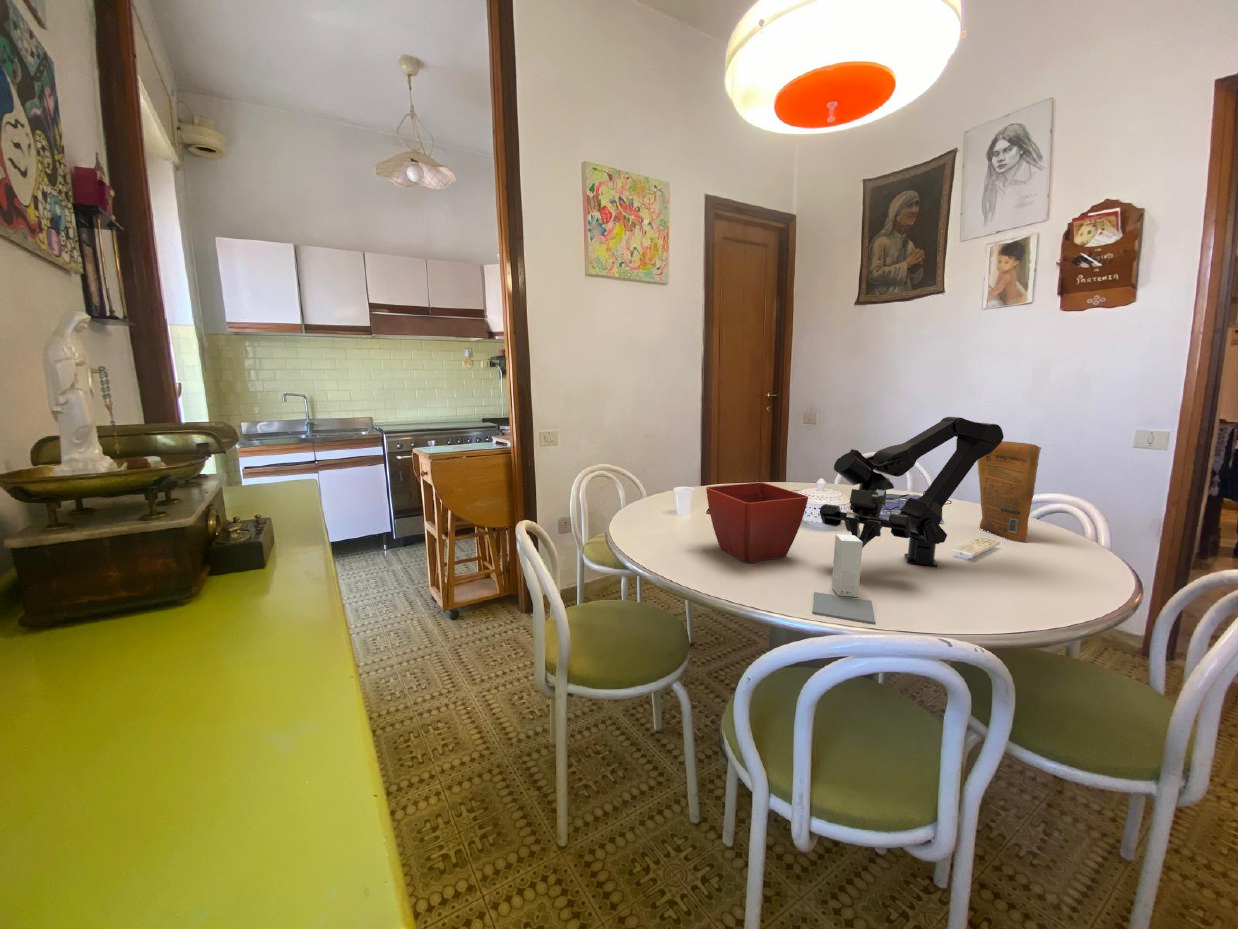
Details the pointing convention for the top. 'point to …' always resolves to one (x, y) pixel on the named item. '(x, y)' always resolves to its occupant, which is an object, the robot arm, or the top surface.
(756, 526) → the plant pot
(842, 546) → the skincare box
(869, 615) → the mat
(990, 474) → the pancake mix bag
